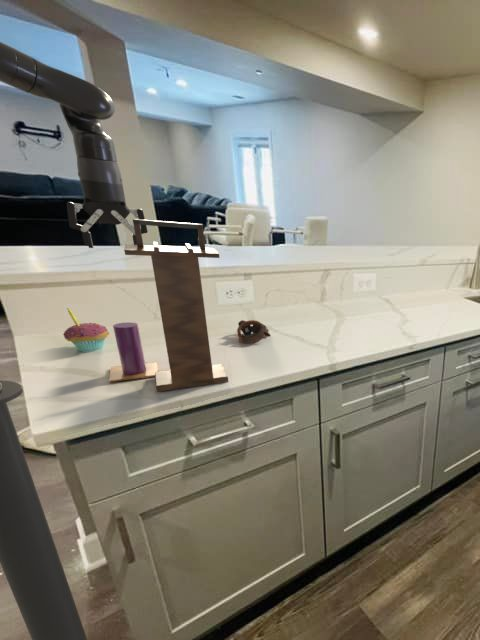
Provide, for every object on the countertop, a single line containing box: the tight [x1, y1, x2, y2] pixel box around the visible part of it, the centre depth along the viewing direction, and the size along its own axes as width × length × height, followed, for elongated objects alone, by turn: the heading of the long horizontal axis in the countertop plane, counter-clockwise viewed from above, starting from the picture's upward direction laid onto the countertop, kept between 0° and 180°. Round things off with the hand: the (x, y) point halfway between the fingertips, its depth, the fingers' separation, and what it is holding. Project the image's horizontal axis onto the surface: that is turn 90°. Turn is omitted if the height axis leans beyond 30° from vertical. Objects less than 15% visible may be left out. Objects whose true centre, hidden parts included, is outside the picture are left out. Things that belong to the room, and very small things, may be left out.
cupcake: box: [62, 307, 110, 353], centre depth 103 cm, size 9×8×12 cm
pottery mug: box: [236, 319, 271, 345], centre depth 123 cm, size 12×10×8 cm
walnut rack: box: [123, 218, 229, 392], centre depth 90 cm, size 16×9×38 cm, turn 129°
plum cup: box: [112, 322, 146, 374], centre depth 93 cm, size 12×4×4 cm
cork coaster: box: [108, 361, 159, 383], centre depth 96 cm, size 9×9×1 cm
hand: (114, 248), depth 98 cm, fingers open, 8 cm apart
